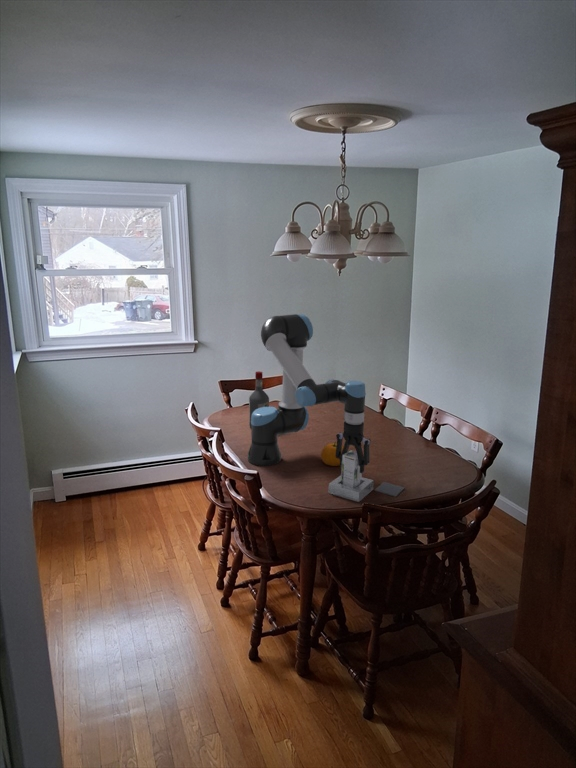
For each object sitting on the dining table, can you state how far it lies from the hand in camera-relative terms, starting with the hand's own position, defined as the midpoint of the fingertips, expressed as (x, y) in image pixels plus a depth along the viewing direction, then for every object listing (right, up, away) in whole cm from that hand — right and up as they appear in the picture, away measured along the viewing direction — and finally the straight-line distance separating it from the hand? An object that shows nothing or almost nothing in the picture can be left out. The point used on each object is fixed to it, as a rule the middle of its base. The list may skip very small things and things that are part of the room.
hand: (351, 477), depth 206 cm
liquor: (-40, +14, +74) cm, 86 cm away
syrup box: (0, -4, +1) cm, 5 cm away
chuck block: (0, -6, +1) cm, 6 cm away
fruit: (-4, +1, +29) cm, 29 cm away
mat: (+16, -5, +3) cm, 17 cm away
